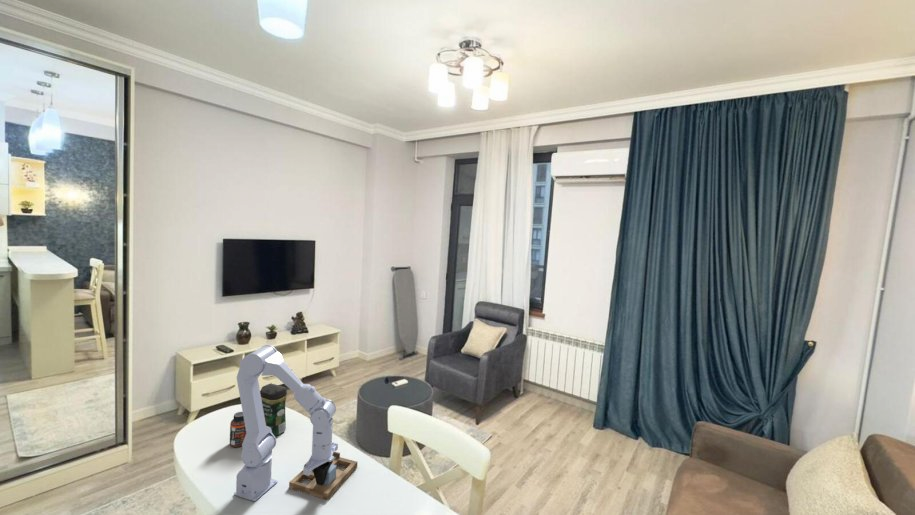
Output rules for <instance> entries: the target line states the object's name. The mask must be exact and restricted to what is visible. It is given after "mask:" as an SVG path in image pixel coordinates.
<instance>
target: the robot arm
mask: <svg viewBox="0 0 915 515" xmlns="http://www.w3.org/2000/svg"><path fill="white" fill-rule="evenodd" d="M260 376H267V377H268V376H274V377H276V378H277V379H278V380H279V381H280V382H282V383H283V384H284V385H285V386H286V388H288V389H289V390H291V391H292V392H293V396H294V397H293V398H294V400H295V401H296V402H297V403H298V404H299V405H300V406H301V407H302V408H303V409H304V410H305V411H306V412H307V414H309V415H310V416H309V421H310V423H311V424H312V438H311V439H312V442H311V455H310V457H309V459H308V461H307V462H308V463H307V462H306V463H307V465H306V466H305V467H304V466H303V468H302V470H303V474H304V475H307V476H309V475H310V474H311V471H313V473H314V476H315V480H316V484H318V485H321V486H322V485H323V484H324V483H325V480H326V476H327V473H328V470H329V468H330V466H331V464H332V462H333V459H334V456H333V453H334V452H337V451H338V448H339V443H337V442H333V420H334V418H333V416H334V415H335V414H336V409H337V407H336V405H335V403H334V402H333V401H334V400H332V399H330V398H329V399H328V398H325V397H323V396H322V395H321V394H320V393H319V392H318V391H317V390H316V387H315V386H314V385H311V384H310V383H303V381H302V380H301V379H300V378H299V377H298V376H297V375H296V373H295V372H294V371H293V369H292V368H290V366H289V365H288V364H287V362H286V361H285V360H284V357H283V355H282V353H280V351H278V350H277V348H276V347H274V346H273V345H271V344H265V345H263V346H261V347H260V348H258V349H257V350H254V351H253V352H251V353H249V354H247V355H245V356H244V357H243V358H242V359H241V360H240V362H239V369H238V372H237V376H236V381H237V388H238V393H239V398H240V405H241V410H242V411H241V412H243V416H244V422H245V428H246V436H245V438H244V441H243V443H242V446H241V447H242V451H241V454H240V459H241V461H242V463H243V464H244V465H243V467H242V468H241V470H239V471H238V473H237V474H236V484H235V488H236V489H235V492H233V496H237V497H240V498H242V499H246V500H249V501H252V502H256V501H257V500H259V498H261V497H262V496H263V495H264V494H266V493H267V492H268V491H269V490H270V489H272V488H273V486H275V485H276V484H277V483H278V480H277V479H273V478H272V466H273V465H272V460H273V459H272V458H273V449H275V447H276V445H277V438H276V436H274V435H273V433H272V430H271V428H270V427H268V426H266V423H265V417H264V411H263V406H262V400H261V394H260V391H261V388H260V385H259V377H260Z"/></svg>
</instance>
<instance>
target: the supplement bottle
mask: <svg viewBox="0 0 915 515" xmlns="http://www.w3.org/2000/svg"><path fill="white" fill-rule="evenodd" d="M229 424H230V425H229V426H230V427H229V446H230V447H233V448H240V447H242V443H243V441H244V438H245V436H246V428H245V422H244V416H243V411H237V412H235V413H233V418H232V420H230V423H229Z"/></svg>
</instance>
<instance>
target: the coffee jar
mask: <svg viewBox="0 0 915 515" xmlns="http://www.w3.org/2000/svg"><path fill="white" fill-rule="evenodd" d="M287 390H288V389H287V387H285V386H282V385H278V384H275V383H271V382H270V383H268V384H266V385H263V386H261V388H260V394H261V400H262V406H263V411H264V417H265V423H266V426H268V427H270V428H271V430H272V433H273V435H274V436H275V437H276V436H277V437H278V436H279V435H281V434H283V433H284V432H285V431H286V429H287V426H286V425H287V424H286V422H287V420H286V418H287V417H286V401H287V397H288V392H287Z"/></svg>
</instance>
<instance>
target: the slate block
mask: <svg viewBox="0 0 915 515" xmlns="http://www.w3.org/2000/svg"><path fill="white" fill-rule="evenodd" d="M337 467H338V466H336V465H332V464H331V466H330V468H329V470H328V473H327V476H326V480H325V483H324V484H326V485H329V484H330V483H331V482H332V481H333V480H334V479H335V478H336V469H338V468H337Z"/></svg>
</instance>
